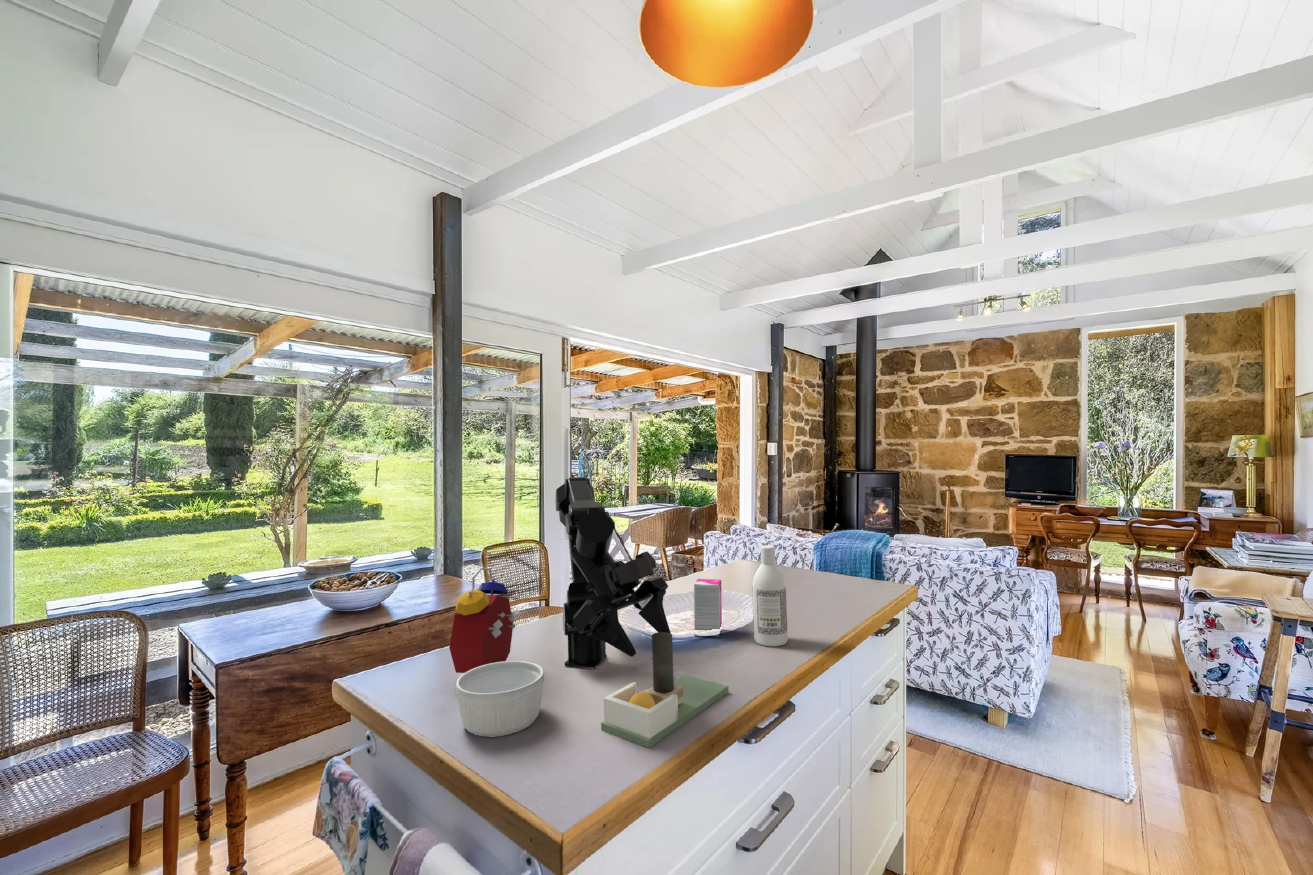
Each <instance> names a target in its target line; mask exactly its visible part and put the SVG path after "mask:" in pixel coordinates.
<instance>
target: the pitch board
mask: <svg viewBox="0 0 1313 875" xmlns="http://www.w3.org/2000/svg"><path fill="white" fill-rule="evenodd" d="M674 684H678V685H681V686H683V693H684V702H682V703H681V704H679V705H678V720H677V721H675V722H673V723H672V724H671V725H669V726H668V727H666V728H665V729H663V730H662V731H660V732H659V733H657V734H656V735H654V736H653V737H651V738H650V739H649V738H646V737H643V736H641V735H638V734H636V733H633V732H630V731H628V730H625V729H622V728H620V727H617V726H614V725H612V724H609V723H606V722H604V720H603V721H601V723H600V728H601V730H602V731H603V732H607V733H608V734H611V735H614V736H616V737H619V738H622V739H625V740H627V741H629V742H632V743H635V744H637V745H639V746H642V747H645V748H648V749H649V748H651V747H652V746H653V745H655V744H657V742H658V743H659V741H660V740H662V739H664V738H665V737H666V736H668V735H669V734H671V733H672V732H673V731H675V730H676V729H678V728H679V727H682V725H684V724H685V723H687V722H688V721H690V719H692V718H694V717H695V716H697V715H699V713H701V712H702V711H704V710H705V709H706V708H708V707H709V706H711V705H712V704H714V703H716V701H718V700H719V699H721V698H722V697H724V696H725V695H726V694H728V693H729V685H726V684H722V683H718V682H716V681H715V682H714V681H712V680H708V679H703V678H700V677H696V676H693V675H689V674H686V673H685V674H682V675H681V676H679V677H677V678H675V679H674ZM670 732H671V733H670ZM663 737H664V738H663Z"/></svg>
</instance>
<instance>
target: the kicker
mask: <svg viewBox="0 0 1313 875" xmlns="http://www.w3.org/2000/svg"><path fill="white" fill-rule="evenodd" d="M673 645H674V644H673V634H672V632H671V633H667V632H655V633H653V634H652V635H651V646H652V648H651V649H652V651H651V653H652V654H651V655H652V683H653V684H652V686H650V687H649V688H648V689H645V690H644V691H643V692H646V693H648V694H650V695H651V696H652V698H653V699H654V702H655V705H656V704H658V703H660V702H661V701H663V700H664V699H666V698H668V697H669V696H671V695H672V694H676V695H677V700H678V705H679V704H681V703H682V702H684V693H683V686H681V685H678V684H674V680H675V679H674V678H675V677H674V652H673V651H674V650H673V647H674V646H673Z"/></svg>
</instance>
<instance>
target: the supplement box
mask: <svg viewBox="0 0 1313 875" xmlns="http://www.w3.org/2000/svg"><path fill="white" fill-rule="evenodd" d="M693 600H694V601H693V602H694V603H693V604H694V606H693V608H694V613H693V616H694V618H693V621H694V623H693V624H694V626H693V627H694V628H693V629H694V630H705V631H706V630H712V629H720V627H721V624H722V625H723V622H722V620H723V619H722V618H723V617H722V612H723V611H722V606H723V605H722V604H723V603H722V579H715V578H714V579H713V578H712V579H710V578H697V579H696V580H695V583H694V584H693Z"/></svg>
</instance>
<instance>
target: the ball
mask: <svg viewBox="0 0 1313 875" xmlns="http://www.w3.org/2000/svg"><path fill="white" fill-rule="evenodd" d="M629 703H632V704H635V705H638V706H641V707H644V708H647V709H650V708H651V707H653V706H655V702H654V699H653V698H652V696H651V695H650V694H648V693H646V692H644V691H638V693H636V694H634V695H633V696H632V697H631V699H630V701H629Z"/></svg>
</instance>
